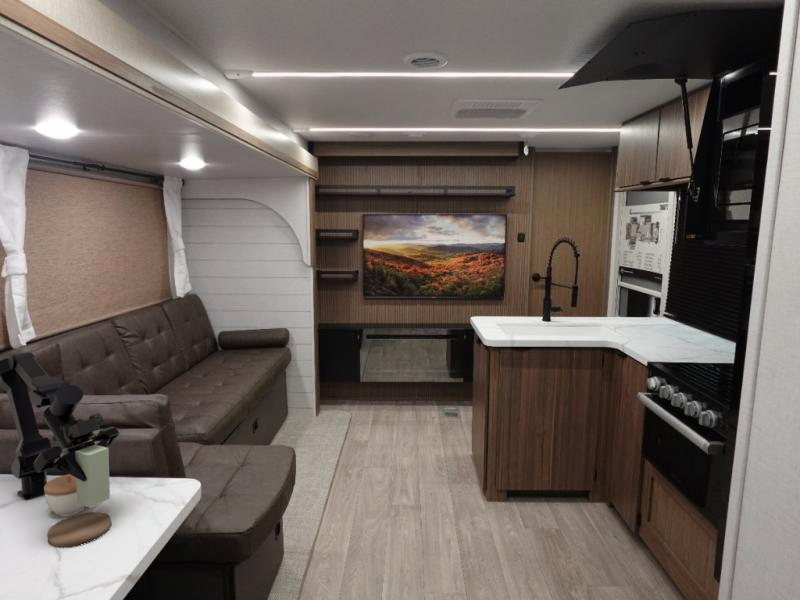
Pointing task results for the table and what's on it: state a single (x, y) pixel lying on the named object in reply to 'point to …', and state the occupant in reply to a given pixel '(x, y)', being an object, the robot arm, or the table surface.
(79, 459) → the post
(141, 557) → the table surface
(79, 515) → the disc
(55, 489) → the lidded jar
